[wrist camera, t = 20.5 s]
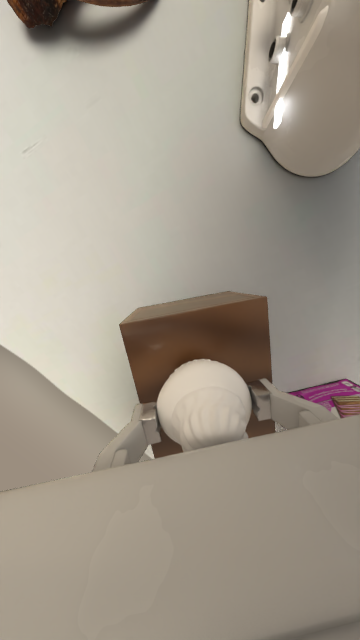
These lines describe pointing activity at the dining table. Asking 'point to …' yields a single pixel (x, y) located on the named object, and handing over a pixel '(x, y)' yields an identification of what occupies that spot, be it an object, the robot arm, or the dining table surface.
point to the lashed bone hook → (54, 9)
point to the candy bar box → (334, 397)
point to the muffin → (204, 405)
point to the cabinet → (198, 346)
